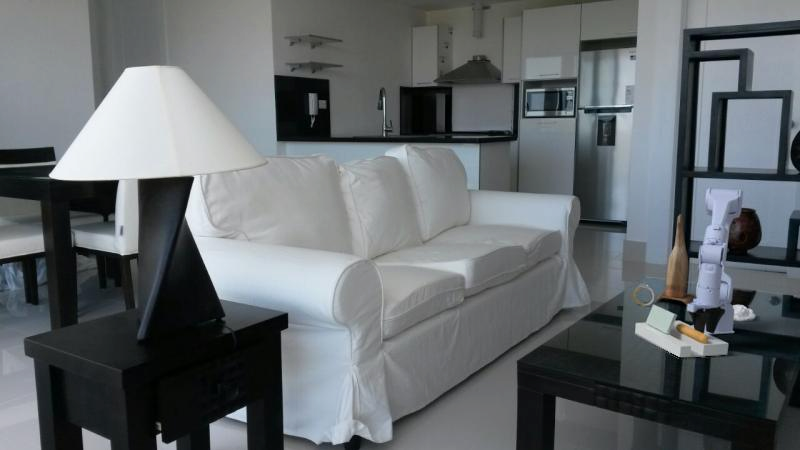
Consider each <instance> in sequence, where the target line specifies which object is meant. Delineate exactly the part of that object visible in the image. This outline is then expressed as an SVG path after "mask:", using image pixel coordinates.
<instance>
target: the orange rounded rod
mask: <svg viewBox="0 0 800 450" xmlns="http://www.w3.org/2000/svg"><path fill="white" fill-rule="evenodd" d="M676 329H677V330H678V331H679V332H681V333H683V334H685V335H687V336H689V337H691V338H693V339H695V340H697V341H699V342H701V343H706V342H707V341H708V337H707V335H705V334H703V333H701V332H699V331H697V330H695V329H693V328H691V327H688V326H686V325H684V324H682V323H680V324H678V325H677V326H676Z"/></svg>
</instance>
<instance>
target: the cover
mask: <svg viewBox="0 0 800 450" xmlns="http://www.w3.org/2000/svg"><path fill="white" fill-rule="evenodd" d="M650 309H651V310H650V311H649V314H648V317H647V318H646V320H645V323H647V324H649V325H651V326H653V327H655V328H657V329H659V330H660V331H662V332H664V333H666V334H670V331H671V329H672V327H673V324H674V322H675V321H676V319H677V317H678V314H676V313H673V312H671V311H669V310H667V309H664V308H663V307H660V306H658V305H656V304H652V306H651V308H650Z"/></svg>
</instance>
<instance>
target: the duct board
mask: <svg viewBox="0 0 800 450" xmlns="http://www.w3.org/2000/svg"><path fill="white" fill-rule="evenodd" d="M680 323H682V324H684V325H686V326H688V327H691V328H693V329H694V327H692V325H690V324H688V323H686V322H683V321H681V320H675V322H674V324H673V327H672V329H671V331H670V334H666V333H664V332H662V331H660V330H659V329H657V328H655V327H653V326H651V325H649V324H647V323H646V322H635V331H634V335H636V336H638V337H639V338H640V339H641V338H642V339H643V340H645V341H646V342H648V343H650V344H652V345H653V344H654V346H655V345H656V347H657V346H658V347H657V348H659V347H660V348H659V349H661V348H662V349H664V350H666V351H668V352H669V353H668V352H667V353H668V354H670V353H672V354H674V355H676V356H678V357H681V358H682V357H701V358H706V357H705V356H716V357H719V356H718V355H727V356H728V350H729V343H728V342H726V341H725V340H722V339H719V338H718V337H715V336H713V335H712V334H707V333H705V332H704V334H705V335H707V337H708V341H707V342H706V343H701V342H699V341H697V340H695V339H693V338H691V337H689V336H687V335H685V334H683V333H681V332H679V331H678V330H677V329H676V326H677V325H678V324H680ZM662 349H661V350H662ZM664 350H663V351H664ZM666 351H665V352H666Z"/></svg>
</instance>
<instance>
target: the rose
mask: <svg viewBox="0 0 800 450" xmlns="http://www.w3.org/2000/svg"><path fill="white" fill-rule="evenodd" d="M732 306H733V308H734V321H736V322H752V321H754V319H755V318H756V314H755V313H754V310H753V309H751V308H747V307H746V306H745V305H743V304H733V305H732Z"/></svg>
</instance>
